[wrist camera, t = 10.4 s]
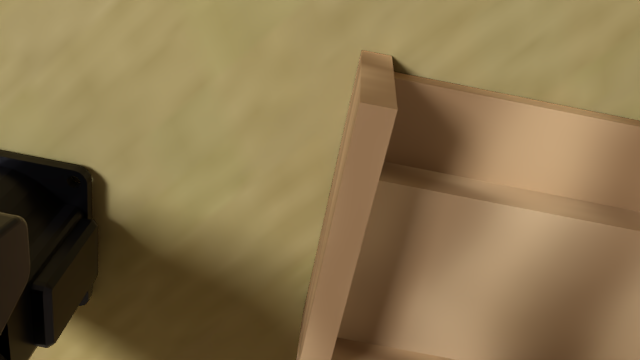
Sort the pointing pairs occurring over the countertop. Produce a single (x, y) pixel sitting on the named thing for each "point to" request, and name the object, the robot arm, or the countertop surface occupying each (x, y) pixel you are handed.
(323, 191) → the countertop surface
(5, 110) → the countertop surface
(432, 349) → the crate
